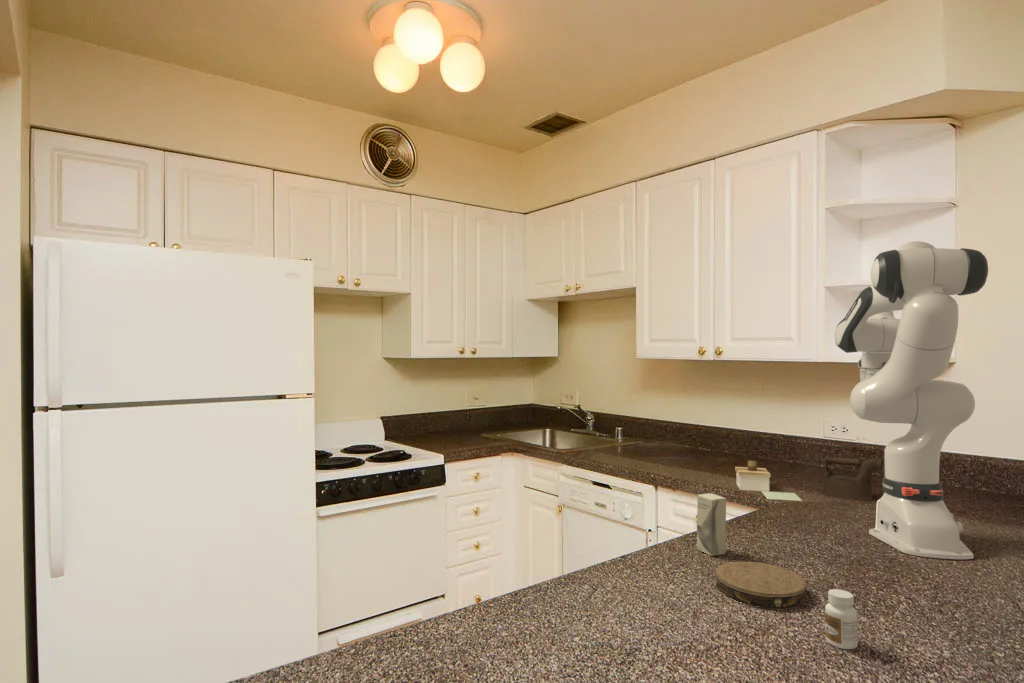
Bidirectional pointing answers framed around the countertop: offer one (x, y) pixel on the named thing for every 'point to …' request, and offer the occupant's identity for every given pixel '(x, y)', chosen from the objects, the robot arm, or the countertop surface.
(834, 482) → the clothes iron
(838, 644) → the pill bottle
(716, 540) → the box
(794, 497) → the mat
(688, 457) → the countertop surface
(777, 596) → the brown round disc
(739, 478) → the dish
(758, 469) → the lid
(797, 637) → the countertop surface
